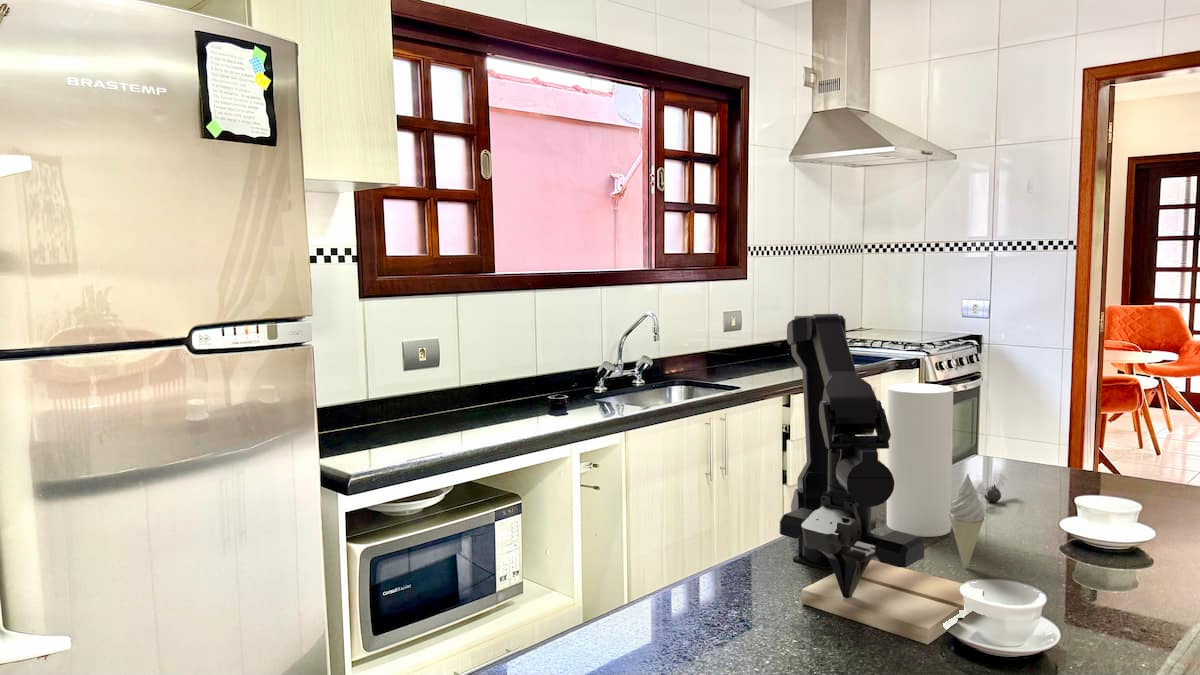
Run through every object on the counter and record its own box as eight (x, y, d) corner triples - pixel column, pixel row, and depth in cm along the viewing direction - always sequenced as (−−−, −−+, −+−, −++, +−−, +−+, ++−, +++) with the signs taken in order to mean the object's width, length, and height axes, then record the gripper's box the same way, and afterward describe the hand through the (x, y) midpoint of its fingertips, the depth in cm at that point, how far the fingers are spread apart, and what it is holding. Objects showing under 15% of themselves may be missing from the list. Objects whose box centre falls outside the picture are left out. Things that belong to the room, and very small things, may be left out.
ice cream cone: (968, 577, 123) (970, 479, 122) (940, 566, 128) (941, 471, 126) (991, 570, 125) (993, 474, 124) (962, 560, 130) (964, 467, 128)
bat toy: (965, 508, 156) (966, 484, 155) (1002, 493, 165) (1002, 470, 165) (981, 512, 153) (981, 487, 153) (1017, 496, 163) (1017, 472, 162)
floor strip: (838, 584, 122) (838, 571, 121) (863, 570, 127) (864, 557, 127) (961, 620, 109) (961, 606, 109) (984, 603, 114) (984, 589, 114)
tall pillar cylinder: (964, 531, 143) (967, 389, 141) (916, 540, 139) (918, 394, 137) (920, 514, 153) (921, 381, 151) (873, 522, 149) (874, 386, 147)
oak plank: (801, 603, 115) (801, 589, 115) (835, 585, 121) (835, 572, 121) (927, 644, 102) (928, 628, 102) (958, 622, 108) (958, 607, 108)
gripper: (756, 482, 112) (755, 594, 113) (885, 512, 98) (882, 638, 100) (802, 468, 119) (800, 572, 121) (927, 494, 106) (924, 611, 107)
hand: (847, 596), depth 112 cm, fingers closed, pressing on oak plank
